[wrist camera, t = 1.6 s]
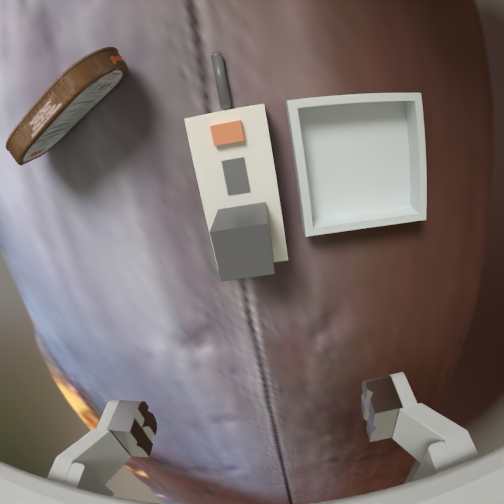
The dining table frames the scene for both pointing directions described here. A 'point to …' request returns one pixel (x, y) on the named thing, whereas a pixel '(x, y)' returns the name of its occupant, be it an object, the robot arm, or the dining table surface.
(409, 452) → the robot arm
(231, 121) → the power strip
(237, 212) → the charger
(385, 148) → the tray
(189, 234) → the dining table surface
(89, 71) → the tin
